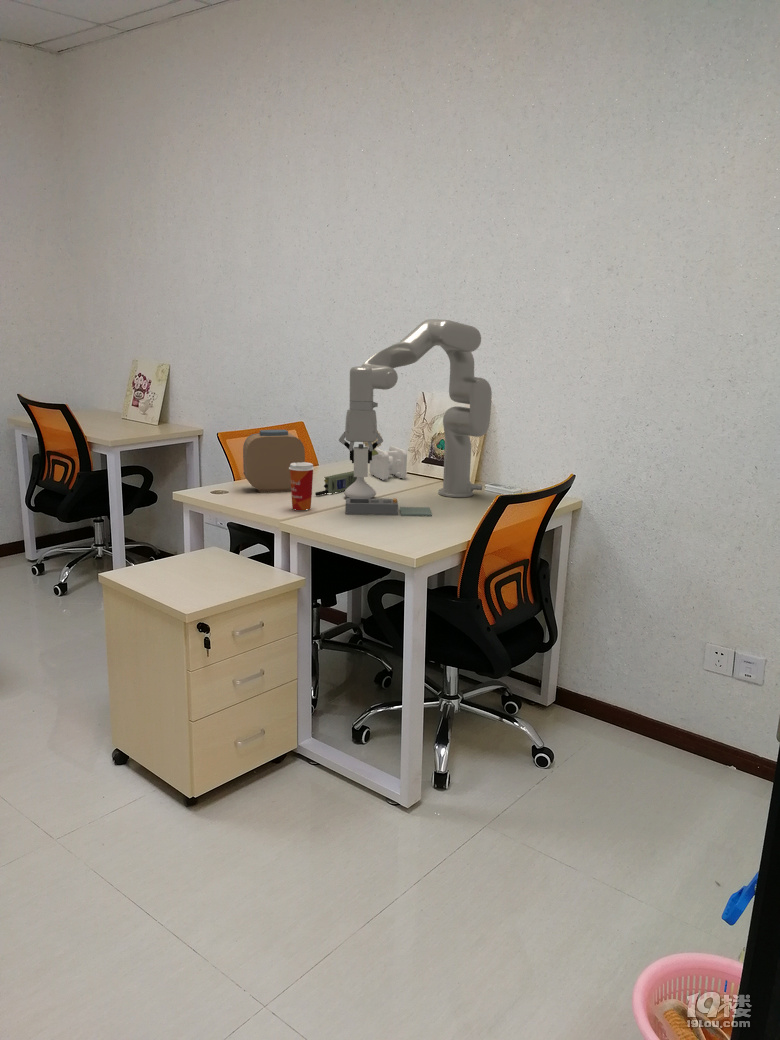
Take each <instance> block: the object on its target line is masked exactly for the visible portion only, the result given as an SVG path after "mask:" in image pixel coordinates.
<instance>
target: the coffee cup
mask: <svg viewBox="0 0 780 1040" xmlns="http://www.w3.org/2000/svg"><path fill="white" fill-rule="evenodd" d="M289 469H290V479H291V491H290V494H291V495H290V496H291V507H292V510H293V509H296V510H306V509H310V508H312V496H313V478H314V477H313V476H314V469H315V467H314V464H313V463H311V462H308V461H307V462H306V461H305V462H302V463H301V462H297V463H291V464H290V467H289ZM296 510H295V511H296ZM310 510H311V509H310Z"/></svg>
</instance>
